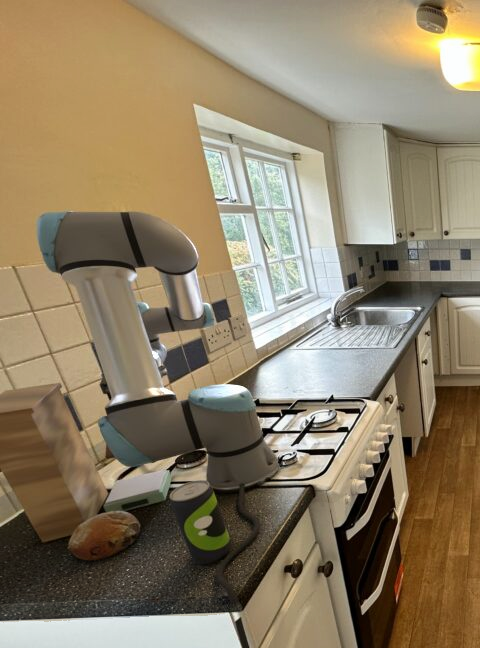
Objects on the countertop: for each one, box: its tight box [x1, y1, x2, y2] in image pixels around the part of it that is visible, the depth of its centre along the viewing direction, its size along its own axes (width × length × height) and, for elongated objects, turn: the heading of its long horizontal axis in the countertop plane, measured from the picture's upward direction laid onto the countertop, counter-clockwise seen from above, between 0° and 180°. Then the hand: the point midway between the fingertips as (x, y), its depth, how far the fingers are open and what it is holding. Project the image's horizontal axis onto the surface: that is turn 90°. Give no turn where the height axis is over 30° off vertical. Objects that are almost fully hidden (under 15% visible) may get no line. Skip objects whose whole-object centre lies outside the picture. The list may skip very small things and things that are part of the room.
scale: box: [102, 469, 173, 513], centre depth 94 cm, size 10×10×3 cm
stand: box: [0, 382, 109, 544], centre depth 83 cm, size 14×8×28 cm, turn 30°
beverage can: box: [169, 479, 232, 565], centre depth 76 cm, size 6×6×15 cm
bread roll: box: [68, 511, 141, 561], centre depth 81 cm, size 10×10×8 cm
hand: (119, 396), depth 95 cm, fingers closed on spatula, 2 cm apart
